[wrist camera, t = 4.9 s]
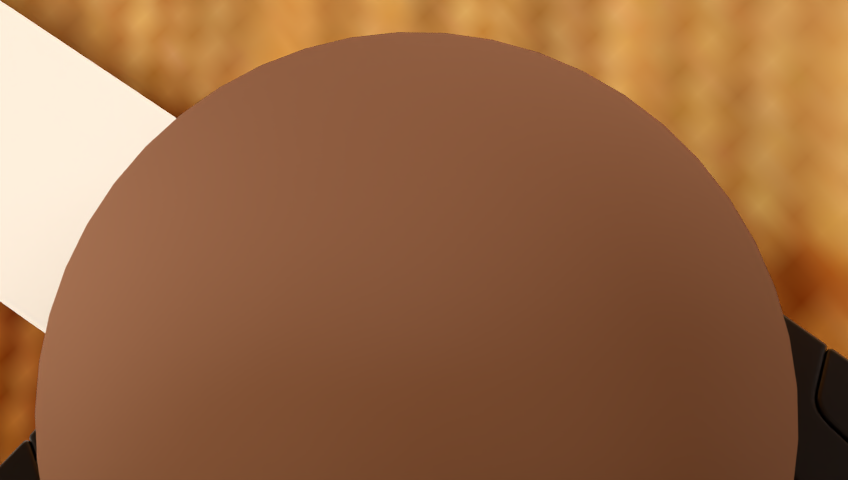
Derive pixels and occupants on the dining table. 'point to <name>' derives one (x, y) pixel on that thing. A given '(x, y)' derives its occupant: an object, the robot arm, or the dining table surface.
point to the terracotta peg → (416, 287)
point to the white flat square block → (57, 156)
